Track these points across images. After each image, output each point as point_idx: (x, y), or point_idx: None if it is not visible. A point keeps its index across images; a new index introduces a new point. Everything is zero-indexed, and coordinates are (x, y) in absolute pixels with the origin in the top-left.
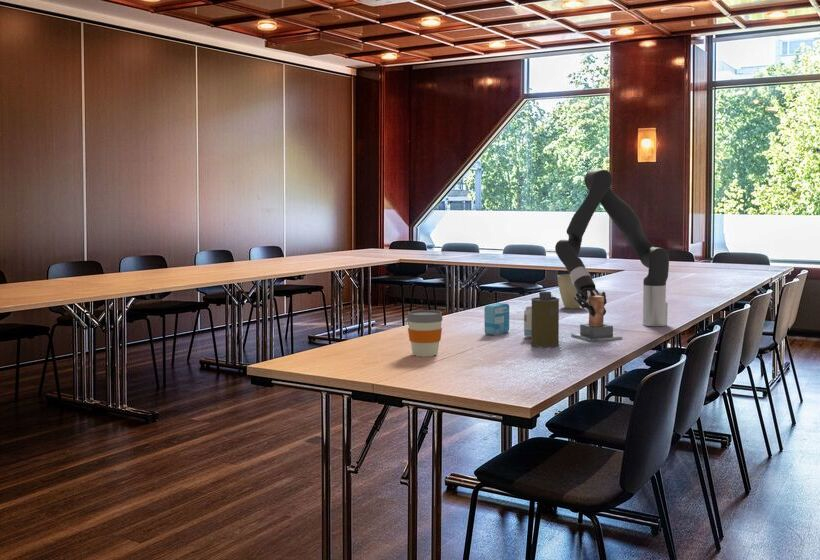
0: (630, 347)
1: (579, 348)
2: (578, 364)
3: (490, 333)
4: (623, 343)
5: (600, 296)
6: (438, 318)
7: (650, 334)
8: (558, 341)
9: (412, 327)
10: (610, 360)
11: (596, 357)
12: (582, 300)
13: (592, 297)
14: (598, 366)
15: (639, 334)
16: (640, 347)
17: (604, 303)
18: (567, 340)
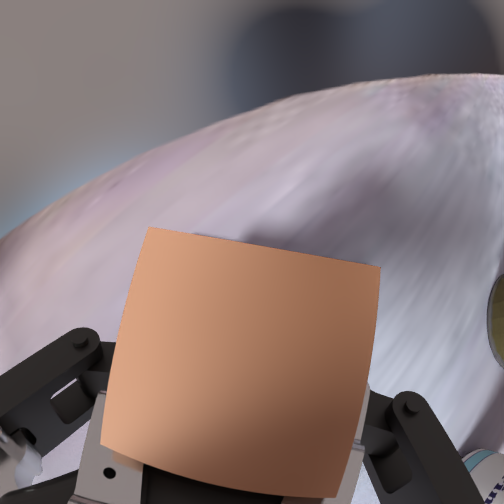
0: (305, 115)
1: (462, 203)
2: (498, 108)
3: None
4: (266, 171)
5: (187, 285)
6: None
7: (29, 256)
8: (502, 286)
9: None
10: (441, 81)
11: (459, 109)
12: (446, 447)
13: (360, 377)
14: (473, 81)
15: (46, 283)
16: (276, 102)
17: (100, 345)
18: (420, 368)
